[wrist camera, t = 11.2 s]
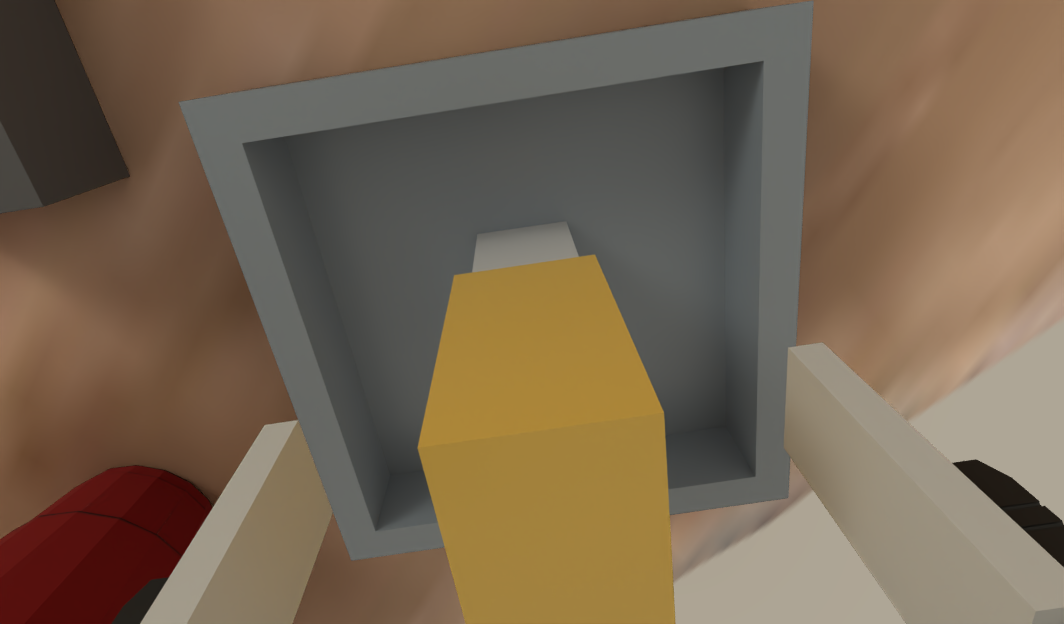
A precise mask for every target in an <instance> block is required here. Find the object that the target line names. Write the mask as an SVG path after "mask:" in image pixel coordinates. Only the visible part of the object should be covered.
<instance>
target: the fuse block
mask: <svg viewBox="0 0 1064 624" xmlns="http://www.w3.org/2000/svg"><path fill="white" fill-rule="evenodd" d="M129 176H130V175H129V172H128V170H127V168H126V165H125V163H124V161H123V159H122V156H121V154H120V152H119V149H118V147H117V145H116V142H115V140H114V138H113V135H112V133H111V131H110V128H109V126H108V124H107V121H106V119H105V117H104V115H103V112H102V110H101V108H100V105H99V103H98V101H97V98H96V96H95V94H94V91H93V89H92V87H91V84H90V82H89V80H88V77H87V75H86V73H85V71H84V68H83V66H82V64H81V61H80V59H79V57H78V54H77V52H76V50H75V47H74V45H73V43H72V40H71V38H70V36H69V33H68V31H67V29H66V27H65V24H64V22H63V20H62V17H61V15H60V13H59V10H58V8H57V6H56V3H55V1H54V0H0V213H6V212H13V211H19V210H25V209H32V208H38V207H44V206H47V205H50V204H52V203H55V202H58V201H61V200H64V199H67V198H69V197H72V196H75V195H78V194H81V193H84V192H86V191H89V190H92V189H95V188H98V187H101V186H103V185H106V184H109V183H112V182H115V181H118V180H120V179H123V178H126V177H129Z"/></svg>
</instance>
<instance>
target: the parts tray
mask: <svg viewBox="0 0 1064 624" xmlns="http://www.w3.org/2000/svg"><path fill="white" fill-rule="evenodd" d="M812 21H813V1H807V2H800V3H793V4H786V5H779V6H772V7H765V8H758V9H751V10H744V11H738V12H732V13H726V14H719V15H713V16H707V17H701V18H694V19H688V20H682V21H676V22H669V23H663V24H657V25H650V26H644V27H638V28H632V29H625V30H619V31H613V32H607V33H600V34H594V35H588V36H582V37H575V38H569V39H563V40H557V41H550V42H544V43H538V44H531V45H525V46H519V47H513V48H506V49H500V50H494V51H488V52H481V53H475V54H469V55H463V56H456V57H450V58H444V59H438V60H431V61H425V62H419V63H412V64H406V65H400V66H394V67H387V68H381V69H375V70H369V71H362V72H356V73H350V74H344V75H337V76H331V77H325V78H319V79H312V80H306V81H300V82H293V83H287V84H281V85H275V86H268V87H262V88H256V89H250V90H243V91H238V92H232V93H226V94H221V95H215V96H209V97H204V98H198V99H193V100H187V101H181V102H179V105H180V107H181V110H182V113H183V115H184V118H185V121H186V123H187V126H188V129H189V131H190V134H191V137H192V139H193V142H194V145H195V147H196V150H197V153H198V155H199V158H200V161H201V163H202V166H203V168H204V171H205V174H206V176H207V179H208V182H209V184H210V187H211V190H212V192H213V195H214V198H215V200H216V203H217V206H218V208H219V211H220V214H221V216H222V219H223V221H224V224H225V227H226V229H227V232H228V235H229V237H230V240H231V243H232V245H233V248H234V251H235V253H236V256H237V259H238V261H239V264H240V267H241V269H242V272H243V274H244V277H245V280H246V282H247V285H248V288H249V290H250V293H251V296H252V298H253V301H254V304H255V306H256V309H257V312H258V314H259V317H260V320H261V322H262V325H263V327H264V330H265V333H266V335H267V338H268V341H269V343H270V346H271V349H272V351H273V354H274V357H275V359H276V362H277V365H278V367H279V370H280V373H281V375H282V378H283V381H284V383H285V386H286V388H287V391H288V394H289V396H290V399H291V402H292V404H293V407H294V410H295V412H296V415H297V418H298V420H299V423H300V426H301V428H302V431H303V434H304V436H305V439H306V441H307V444H308V447H309V449H310V452H311V455H312V457H313V460H314V463H315V465H316V468H317V471H318V473H319V476H320V479H321V481H322V484H323V487H324V489H325V492H326V494H327V497H328V500H329V502H330V505H331V508H332V510H333V513H334V516H335V518H336V521H337V524H338V526H339V529H340V532H341V534H342V537H343V540H344V542H345V545H346V548H347V550H348V553H349V555H350V558H351V561H352V560H359V559H366V558H373V557H380V556H387V555H394V554H401V553H408V552H415V551H422V550H429V549H436V548H443V547H445V546H444V543H443V539H442V535H441V532H440V528H439V524H438V521H437V517H436V513H435V510H434V506H433V503H432V499H431V495H430V492H429V488H428V484H427V481H426V477H425V473H424V470H423V466H422V462H421V459H420V455H419V451H418V443H419V439H420V434H421V429H422V424H423V420H424V415H425V410H426V406H427V401H428V396H429V392H430V387H431V382H432V377H433V373H434V368H435V363H436V359H437V354H438V349H439V344H440V340H441V335H442V330H443V326H444V321H445V316H446V311H447V307H448V302H449V297H450V293H451V288H452V283H453V279H454V275H459V274H465V273H472V269H473V262H474V255H475V248H476V240H477V234H482V233H489V232H495V231H502V230H509V229H516V228H522V227H529V226H536V225H543V224H549V223H556V222H563V221H566V222H567V225H568V228H569V230H570V233H571V236H572V239H573V242H574V244H575V247H576V250H577V253H578V256H579V257H581V256H588V255H594V254H595V256H596V258H597V260H598V263H599V265H600V267H601V269H602V272H603V274H604V276H605V279H606V281H607V283H608V285H609V288H610V290H611V292H612V295H613V297H614V299H615V301H616V304H617V306H618V308H619V311H620V313H621V315H622V317H623V320H624V322H625V324H626V327H627V329H628V331H629V334H630V336H631V338H632V340H633V343H634V345H635V347H636V350H637V352H638V354H639V356H640V359H641V361H642V363H643V366H644V368H645V370H646V372H647V375H648V377H649V379H650V382H651V384H652V386H653V388H654V391H655V393H656V395H657V398H658V400H659V402H660V405H661V407H662V409H663V411H664V420H665V438H666V457H667V476H668V495H669V513H670V515H674V514H681V513H688V512H695V511H702V510H709V509H716V508H723V507H729V506H736V505H743V504H750V503H757V502H764V501H771V500H778V499H785V498H788V493H789V474H790V456H789V454H788V453H787V452H786V450H785V449H784V427H785V405H786V382H787V360H788V347H795V346H796V336H797V316H798V296H799V277H800V257H801V237H802V218H803V198H804V178H805V159H806V139H807V119H808V99H809V80H810V60H811V40H812Z"/></svg>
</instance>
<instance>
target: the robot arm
mask: <svg viewBox="0 0 1064 624" xmlns="http://www.w3.org/2000/svg"><path fill="white" fill-rule="evenodd" d="M784 449H785V450H786V452H787V453H788V454H789V456H790V457H791V459H792V460H793V462H794V463H795V464H796V466H797V467H798V469H799V470H800V472H801V473H802V475H803V476H804V477H805V479H806V480H807V482H808V483H809V485H810V486H811V487H812V489H813V490H814V492H815V493H816V495H817V496H818V498H819V499H820V500H821V502H822V503H823V504H824V506H825V508H826V509H827V510H828V512H829V513H830V515H831V516H832V518H833V519H834V521H835V522H836V523H837V525H838V526H839V528H840V529H841V531H842V532H843V533H844V535H845V536H846V538H847V539H848V541H849V542H850V543H851V545H852V546H853V548H854V549H855V551H856V552H857V554H858V555H859V556H860V558H861V559H862V561H863V562H864V563H865V565H866V567H867V568H868V569H869V571H870V572H871V574H872V575H873V577H874V578H875V579H876V581H877V582H878V584H879V585H880V586H881V588H882V590H883V591H884V592H885V594H886V595H887V597H888V598H889V600H890V601H891V602H892V604H893V605H894V607H895V608H896V609H897V611H898V612H899V614H900V615H901V617H902V618H903V620H904V621H905V623H906V624H1064V525H1063V523H1062V520H1060V518H1058V517H1057V516H1056V515H1055V514H1054V513H1052V512H1051V511H1050V510H1049V509H1048V508H1047V507H1045V506H1041V505H1040V503H1039V501H1038V500H1037V499H1036V498H1035V497H1034V496H1033V495H1031V494H1030V493H1029V492H1028V491H1027V490H1025V489H1024V488H1023V487H1022V486H1021V485H1019V484H1018V483H1017V482H1016V481H1015V480H1014V479H1013V478H1011V477H1009V476H1007V475H1005V474H1004V473H1002V472H1000V471H998V470H996V469H994V468H992V467H990V466H988V465H986V464H984V463H982V462H980V461H978V460H969V461H962V462H956V463H951V462H950V461H949V460H948V459H947V458H946V457H945V456H944V455H943V454H942V453H941V452H940V451H938V450H937V449H936V448H935V447H934V446H933V445H932V444H931V443H930V442H929V441H928V440H927V439H925V438H924V437H923V436H922V435H921V434H920V433H919V432H918V431H917V430H916V429H915V428H914V427H913V426H912V425H911V424H909V423H908V422H907V421H906V420H905V419H904V418H903V417H902V416H901V415H900V414H899V413H898V412H897V411H896V410H894V409H893V408H892V407H891V406H890V405H889V404H888V403H887V402H886V401H885V400H884V399H883V398H882V397H881V396H879V395H878V394H877V393H876V392H875V391H874V390H873V389H872V388H871V387H870V386H869V385H868V384H867V383H866V382H864V381H863V380H862V379H861V378H860V377H859V376H858V375H857V374H856V373H855V372H854V371H853V370H852V369H851V368H849V367H848V366H847V365H846V364H845V363H844V362H843V361H842V360H841V359H840V358H839V357H838V356H837V355H836V354H834V353H833V352H832V351H831V350H830V349H829V348H828V347H827V346H826V345H825V344H824V343H823V342H822V343H815V344H808V345H802V346H795V347H788V360H787V382H786V405H785V427H784ZM332 514H333V512H332V509H331V506H330V504H329V501H328V498H327V496H326V493H325V490H324V488H323V485H322V482H321V480H320V477H319V474H318V472H317V469H316V467H315V464H314V461H313V459H312V456H311V453H310V451H309V448H308V445H307V443H306V440H305V437H304V435H303V432H302V429H301V427H300V424H299V422H298V420H296V421H289V422H282V423H275V424H269V425H264V427H263V428H262V430H261V432H260V433H259V435H258V436H257V438H256V440H255V441H254V443H253V444H252V446H251V448H250V449H249V451H248V452H247V454H246V456H245V457H244V459H243V460H242V462H241V464H240V465H239V467H238V468H237V470H236V472H235V473H234V475H233V476H232V478H231V480H230V481H229V483H228V484H227V486H226V487H225V489H224V491H223V492H222V494H221V495H220V497H219V499H218V500H217V502H216V503H215V505H214V507H213V508H212V510H211V511H210V513H209V515H208V516H207V518H206V519H205V521H204V523H203V524H202V526H201V527H200V529H199V531H198V532H197V534H196V535H195V537H194V539H193V540H192V542H191V543H190V545H189V547H188V548H187V550H186V551H185V553H184V555H183V556H182V558H181V559H180V561H179V562H178V564H177V566H176V567H175V569H174V570H173V572H172V574H171V575H170V577H166V578H159V579H153V580H150V581H149V582H148V583H147V584H146V585H145V586H144V587H143V588H142V589H141V590H140V591H139V592H138V593H137V594H136V595H135V596H134V597H133V598H131V599H130V600H129V601H128V602H127V603H126V604H125V605H124V606H123V607H122V609H121V610H120V612H119V613H118V615H117V616H116V618H115V619H114V621H113V622H112V624H293V621H294V618H295V616H296V613H297V610H298V607H299V605H300V602H301V599H302V596H303V594H304V591H305V588H306V585H307V583H308V580H309V577H310V574H311V572H312V569H313V566H314V563H315V561H316V558H317V555H318V552H319V550H320V547H321V544H322V541H323V539H324V536H325V533H326V530H327V528H328V525H329V522H330V519H331V517H332Z"/></svg>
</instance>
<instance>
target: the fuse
mask: <svg viewBox="0 0 1064 624" xmlns="http://www.w3.org/2000/svg"><path fill="white" fill-rule="evenodd" d="M418 451H419V455H420V459H421V462H422V466H423V470H424V473H425V477H426V481H427V484H428V488H429V492H430V495H431V499H432V503H433V506H434V510H435V513H436V517H437V521H438V524H439V528H440V532H441V535H442V539H443V543H444V546H445V550H446V554H447V557H448V561H449V565H450V568H451V572H452V576H453V579H454V583H455V586H456V590H457V594H458V597H459V601H460V605H461V608H462V612H463V616H464V619H465V623H466V624H675V607H674V588H673V570H672V551H671V532H670V513H669V495H668V476H667V457H666V438H665V420H664V411H663V409H662V407H661V405H660V402H659V400H658V398H657V395H656V393H655V391H654V388H653V386H652V384H651V382H650V379H649V377H648V375H647V372H646V370H645V368H644V366H643V363H642V361H641V359H640V356H639V354H638V352H637V350H636V347H635V345H634V343H633V340H632V338H631V336H630V334H629V331H628V329H627V327H626V324H625V322H624V320H623V317H622V315H621V313H620V311H619V308H618V306H617V304H616V301H615V299H614V297H613V295H612V292H611V290H610V288H609V285H608V283H607V281H606V279H605V276H604V274H603V272H602V269H601V267H600V265H599V263H598V260H597V258H596V256H595V254H594V255H588V256H581V257H579V256H578V253H577V250H576V247H575V244H574V242H573V239H572V236H571V233H570V230H569V228H568V225H567V222H566V221H563V222H556V223H549V224H543V225H536V226H529V227H522V228H516V229H509V230H502V231H495V232H489V233H482V234H477V240H476V248H475V255H474V262H473V269H472V273H465V274H459V275H454V279H453V283H452V288H451V293H450V297H449V302H448V307H447V311H446V316H445V321H444V326H443V330H442V335H441V340H440V344H439V349H438V354H437V359H436V363H435V368H434V373H433V377H432V382H431V387H430V392H429V396H428V401H427V406H426V410H425V415H424V420H423V424H422V429H421V434H420V439H419V443H418Z"/></svg>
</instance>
